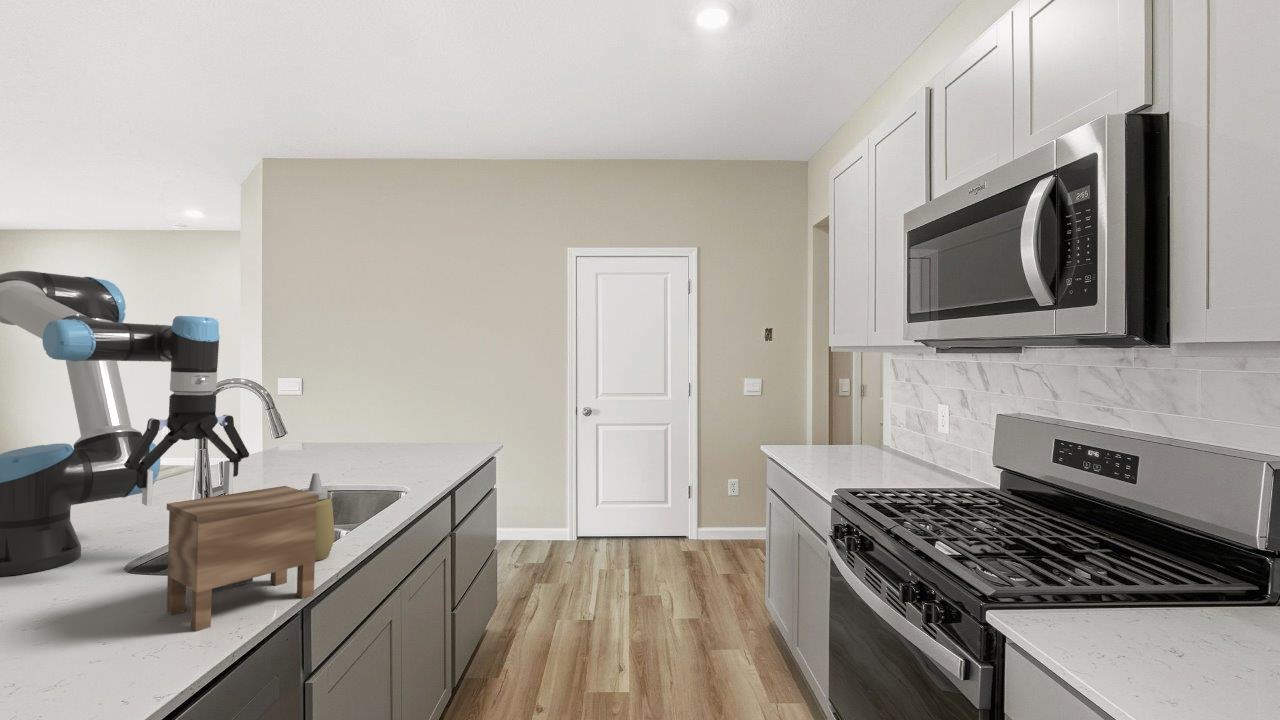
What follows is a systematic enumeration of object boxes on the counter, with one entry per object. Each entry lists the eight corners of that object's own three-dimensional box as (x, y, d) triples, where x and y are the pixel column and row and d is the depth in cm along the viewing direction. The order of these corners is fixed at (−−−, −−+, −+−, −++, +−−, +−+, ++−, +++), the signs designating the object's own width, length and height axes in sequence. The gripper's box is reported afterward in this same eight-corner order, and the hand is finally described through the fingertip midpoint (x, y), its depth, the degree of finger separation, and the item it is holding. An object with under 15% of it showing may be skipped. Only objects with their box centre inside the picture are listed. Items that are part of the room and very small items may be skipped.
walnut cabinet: (163, 611, 98) (166, 503, 98) (282, 579, 113) (285, 485, 113) (194, 632, 91) (197, 516, 91) (316, 594, 106) (318, 495, 106)
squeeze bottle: (316, 565, 121) (318, 478, 121) (282, 562, 123) (284, 476, 123) (343, 553, 129) (345, 471, 129) (311, 550, 130) (313, 469, 131)
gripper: (119, 396, 106) (114, 513, 106) (269, 392, 126) (265, 491, 127) (106, 393, 110) (101, 506, 110) (253, 390, 131) (249, 485, 131)
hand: (189, 498), depth 118 cm, fingers open, 13 cm apart
